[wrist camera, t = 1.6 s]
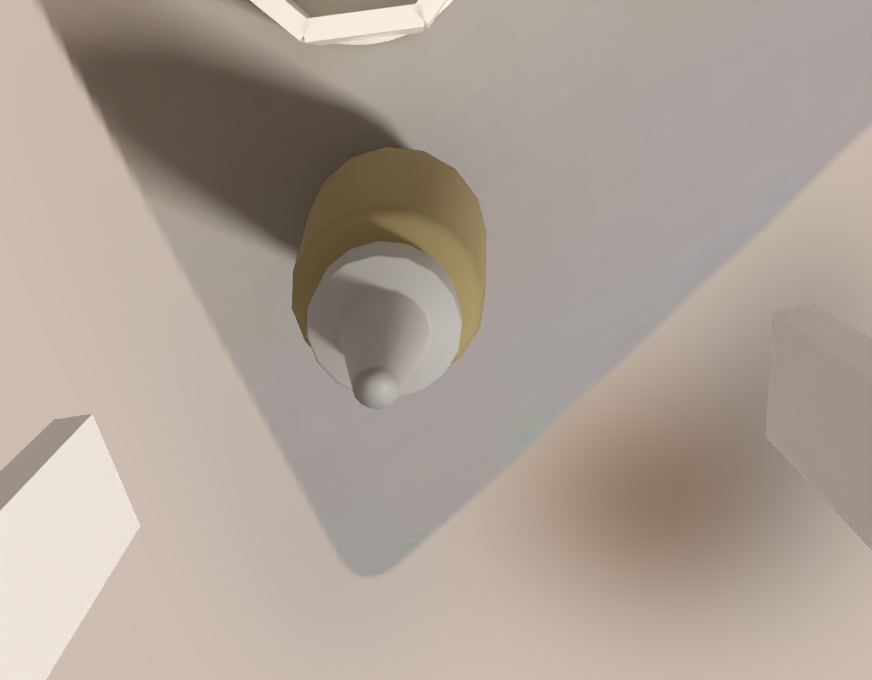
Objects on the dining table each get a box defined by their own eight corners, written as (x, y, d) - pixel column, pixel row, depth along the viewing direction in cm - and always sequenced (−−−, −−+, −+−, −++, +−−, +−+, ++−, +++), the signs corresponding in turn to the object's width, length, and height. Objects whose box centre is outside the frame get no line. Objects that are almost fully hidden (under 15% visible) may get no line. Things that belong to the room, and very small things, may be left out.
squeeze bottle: (502, 168, 31) (595, 284, 14) (449, 315, 34) (477, 550, 17) (341, 114, 30) (243, 174, 13) (302, 271, 33) (182, 479, 16)
